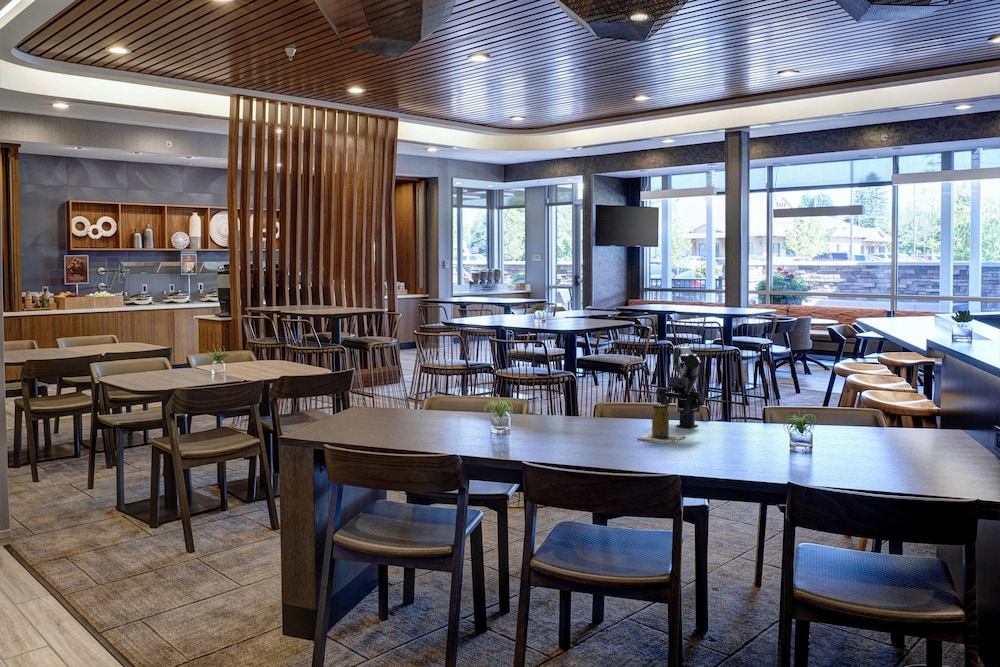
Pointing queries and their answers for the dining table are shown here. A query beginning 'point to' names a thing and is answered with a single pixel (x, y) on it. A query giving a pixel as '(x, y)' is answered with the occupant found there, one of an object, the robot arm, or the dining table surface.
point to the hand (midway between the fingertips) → (671, 414)
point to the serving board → (661, 439)
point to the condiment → (660, 422)
